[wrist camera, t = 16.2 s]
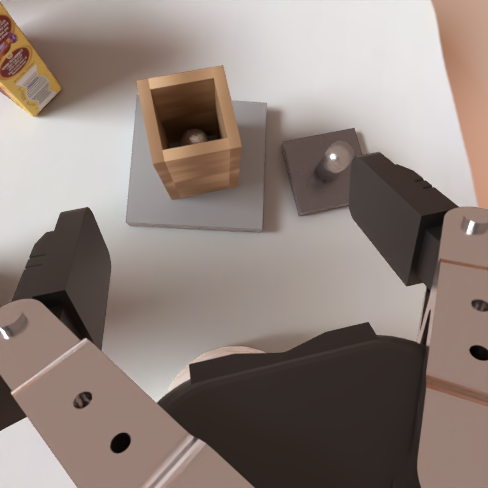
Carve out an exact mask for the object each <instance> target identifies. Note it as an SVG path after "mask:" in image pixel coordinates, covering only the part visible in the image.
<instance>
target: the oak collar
mask: <svg viewBox="0 0 488 488" xmlns="http://www.w3.org/2000/svg"><path fill="white" fill-rule="evenodd" d="M136 82H137V87H138V92H139V98H140V103H141V108H142V113H143V118H144V123H145V128H146V133H147V138H148V143H149V148H150V153H151V158H152V163H153V166H154V168H155V169H156V171H157V173H158V175H159V177H160V179H161V181H162V183H163V184H164V186H165V188H166V190H167V192H168V194H169V196H170V198H171V200H173V199H178V198H183V197H188V196H193V195H198V194H203V193H208V192H213V191H218V190H223V189H228V188H233V187H238V179H239V170H240V160H241V151H242V145H241V140H240V136H239V132H238V128H237V123H236V119H235V115H234V110H233V106H232V102H231V97H230V93H229V89H228V84H227V80H226V76H225V71H224V67H223V65H222V66H216V67H211V68H205V69H199V70H194V71H188V72H182V73H176V74H171V75H165V76H159V77H154V78H148V79H142V80H136ZM192 128H197V129H200V130H202V131H203V132H205V134H206V135H207V136H212V135H217V137H218V140H213V141H208V142H203V143H198V144H192V145H187V146H182V147H177V148H171V149H170V144H169V143H175V142H180V141H181V139H182V136H183V134H184V133H185V132H186V131H187V130H189V129H192Z"/></svg>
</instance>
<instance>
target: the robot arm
mask: <svg viewBox="0 0 488 488" xmlns="http://www.w3.org/2000/svg"><path fill="white" fill-rule="evenodd" d="M349 209H350V213H351V216H352V218H353V219H354V221H355V222H356V223H357V225H358V226H359V227H360V228H361V230H362V231H363V232H364V233H365V235H366V236H367V237H368V238H369V240H370V241H371V242H372V244H373V245H374V246H375V247H376V249H377V250H378V251H379V252H380V254H381V255H382V256H383V257H384V259H385V260H386V261H387V262H388V264H389V265H390V266H391V268H392V269H393V270H394V271H395V273H396V274H397V275H398V276H399V278H400V279H401V280H402V281H403V283H404V284H405V285H406V286H411V285H415V284H419V283H424V284H425V285H426V290H425V294H424V299H423V305H422V311H421V317H420V323H419V329H418V335H417V341H416V342H414V341H411V340H407V339H403V338H398V337H393V336H383V335H376V334H375V332H374V330H373V329H372V327H371V326H370V324H369V322H367V323H362V324H358V325H354V326H349V327H345V328H341V329H337V330H332V331H328V332H325V333H323V334H321V335H319V336H317V337H315V338H313V339H311V340H309V341H307V342H305V343H303V344H301V345H299V346H297V347H295V348H293V349H291V350H289V351H287V352H283V353H237V354H230V355H226V356H222V357H218V358H213V359H209V360H205V361H201V362H196V363H192V364H189V370H190V379H189V380H187V381H185V382H183V383H182V384H180V385H178V386H177V387H175V388H174V389H172V390H171V391H170V392H169V393H167V394H166V395H165V396H164V397H162V398H161V399H160V400H159V401H158V402H157V403H156V402H155V401H154V400H153V399H152V398H151V397H150V396H148V395H147V394H146V393H145V392H144V391H143V390H142V389H141V388H140V387H139V386H138V385H137V384H136V383H135V382H134V381H132V380H131V379H130V378H129V377H128V376H127V375H126V374H125V373H124V372H123V371H122V370H121V369H120V368H119V367H118V366H117V365H115V364H114V363H113V362H112V361H111V360H110V359H109V358H108V357H107V356H106V355H105V354H104V353H103V352H102V351H101V349H102V340H103V332H104V324H105V315H106V307H107V299H108V290H109V282H110V274H111V261H110V256H109V252H108V249H107V246H106V244H105V242H104V239H103V237H102V234H101V232H100V230H99V227H98V225H97V222H96V220H95V218H94V215H93V213H92V211H91V210H90V208H88V207H86V208H81V209H76V210H70V211H65V212H61V213H60V215H59V218H58V221H57V224H56V227H55V230H54V231H51V232H46V233H45V234H44V235H43V236H42V237H41V238H40V239H39V240H38V241H37V243H36V244H35V245H34V247H33V249H32V252H31V254H30V259H29V260H28V262H27V264H26V267H25V268H26V270H24V272H23V274H22V277H21V279H20V282H19V284H18V287H17V289H16V292H15V294H14V297H13V299H12V302H10V303H8V304H6V305H4V306H2V307H0V431H1V430H3V429H4V428H6V427H8V426H10V425H12V424H14V423H16V422H18V421H20V420H22V419H24V418H25V417H28V418H29V420H30V421H31V423H32V424H33V425H34V427H35V428H36V430H37V431H38V433H39V434H40V435H41V437H42V438H43V440H44V441H45V442H46V444H47V445H48V447H49V448H50V450H51V451H52V452H53V454H54V455H55V457H56V458H57V459H58V461H59V462H60V464H61V465H62V466H63V468H64V469H65V471H66V472H67V474H68V475H69V476H70V478H71V479H72V481H73V482H74V483H75V485H76V486H77V488H488V210H486V209H482V208H477V207H458V206H457V205H456V204H455V203H453V202H452V201H451V200H449V199H448V198H447V197H446V196H444V195H443V194H442V193H441V192H439V191H438V190H437V189H436V188H434V187H433V188H432V185H431V184H429V183H428V182H427V181H426V180H425V181H424V180H423V178H422V177H421V176H419V175H418V174H417V173H415V172H414V171H413V170H410V169H408V168H405V167H403V166H400V165H398V164H397V165H395V164H393V163H392V162H391V161H390V160H389V159H387V158H386V157H385V156H384V155H383V154H381V153H380V152H376V153H371V154H366V155H361V156H356V157H354V158H353V160H352V163H351V175H350V189H349Z"/></svg>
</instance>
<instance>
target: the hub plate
mask: <svg viewBox="0 0 488 488" xmlns="http://www.w3.org/2000/svg"><path fill="white" fill-rule="evenodd" d="M231 102H232V106H233V110H234V115H235V119H236V123H237V128H238V132H239V136H240V140H241V145H242V151H241V160H240V170H239V179H238V187H233V188H228V189H223V190H218V191H213V192H208V193H203V194H198V195H193V196H188V197H183V198H178V199H173V200H171V198H170V196H169V194H168V192H167V190H166V188H165V186H164V184H163V183H162V181H161V179H160V177H159V175H158V173H157V171H156V169H155V168H154V166H153V163H152V158H151V153H150V148H149V143H148V138H147V133H146V128H145V123H144V118H143V113H142V108H141V103H140V98H139V95H137V100H136V111H135V123H134V134H133V145H132V157H131V168H130V179H129V191H128V202H127V213H126V223H127V224H128V225H130V226H146V227H167V228H187V229H208V230H229V231H249V232H261V231H262V226H263V196H264V167H265V137H266V108H267V103H261V102H245V101H231ZM213 140H218V137H217V135H212V136H207V135H206V134H205V132H203V131H202V130H200V129H197V128H192V129H189V130H187V131H186V132H185V133H184V134H183V136H182V139H181V141H180V142H175V143H169V144H170V149H171V148H177V147H182V146H187V145H192V144H198V143H203V142H208V141H213Z"/></svg>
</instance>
